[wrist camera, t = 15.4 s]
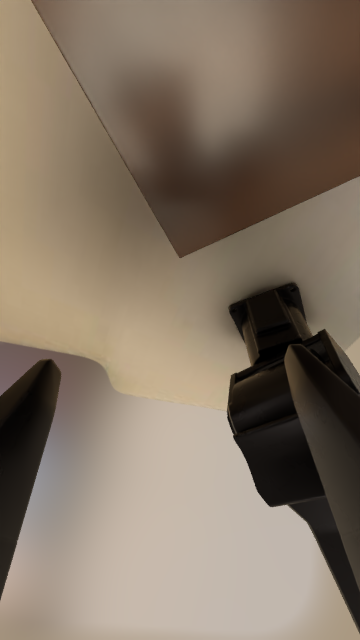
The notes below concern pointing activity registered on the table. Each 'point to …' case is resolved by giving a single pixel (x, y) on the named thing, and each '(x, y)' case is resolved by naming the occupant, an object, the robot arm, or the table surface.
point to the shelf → (219, 102)
